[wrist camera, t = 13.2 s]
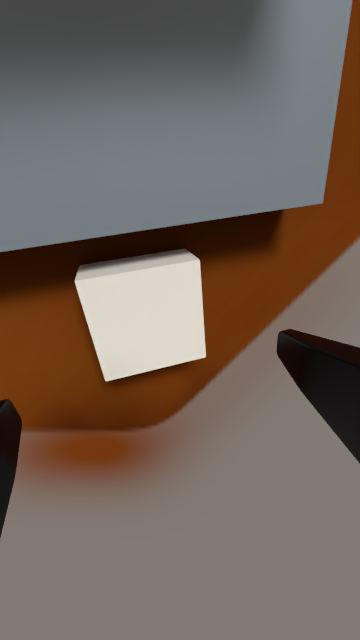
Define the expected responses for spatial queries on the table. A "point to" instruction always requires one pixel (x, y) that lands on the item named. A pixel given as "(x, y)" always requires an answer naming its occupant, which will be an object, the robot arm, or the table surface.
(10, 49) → the lock plate
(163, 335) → the white square block
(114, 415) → the table surface
